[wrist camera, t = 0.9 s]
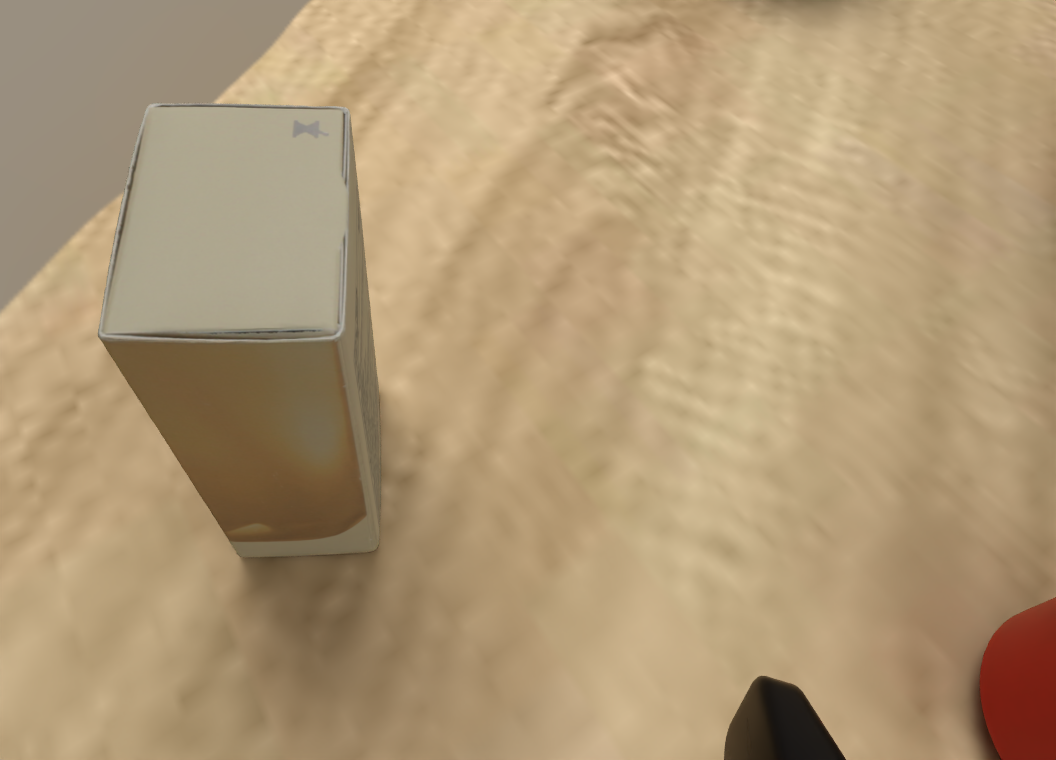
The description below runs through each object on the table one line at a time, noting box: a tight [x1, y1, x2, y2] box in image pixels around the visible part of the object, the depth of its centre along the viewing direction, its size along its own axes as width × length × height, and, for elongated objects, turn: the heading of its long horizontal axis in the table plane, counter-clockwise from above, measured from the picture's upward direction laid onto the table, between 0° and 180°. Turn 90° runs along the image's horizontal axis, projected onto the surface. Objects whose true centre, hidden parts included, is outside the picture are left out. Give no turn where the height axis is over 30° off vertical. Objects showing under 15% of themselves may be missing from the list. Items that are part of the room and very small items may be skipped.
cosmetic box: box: [98, 103, 381, 557], centre depth 20 cm, size 6×4×12 cm
